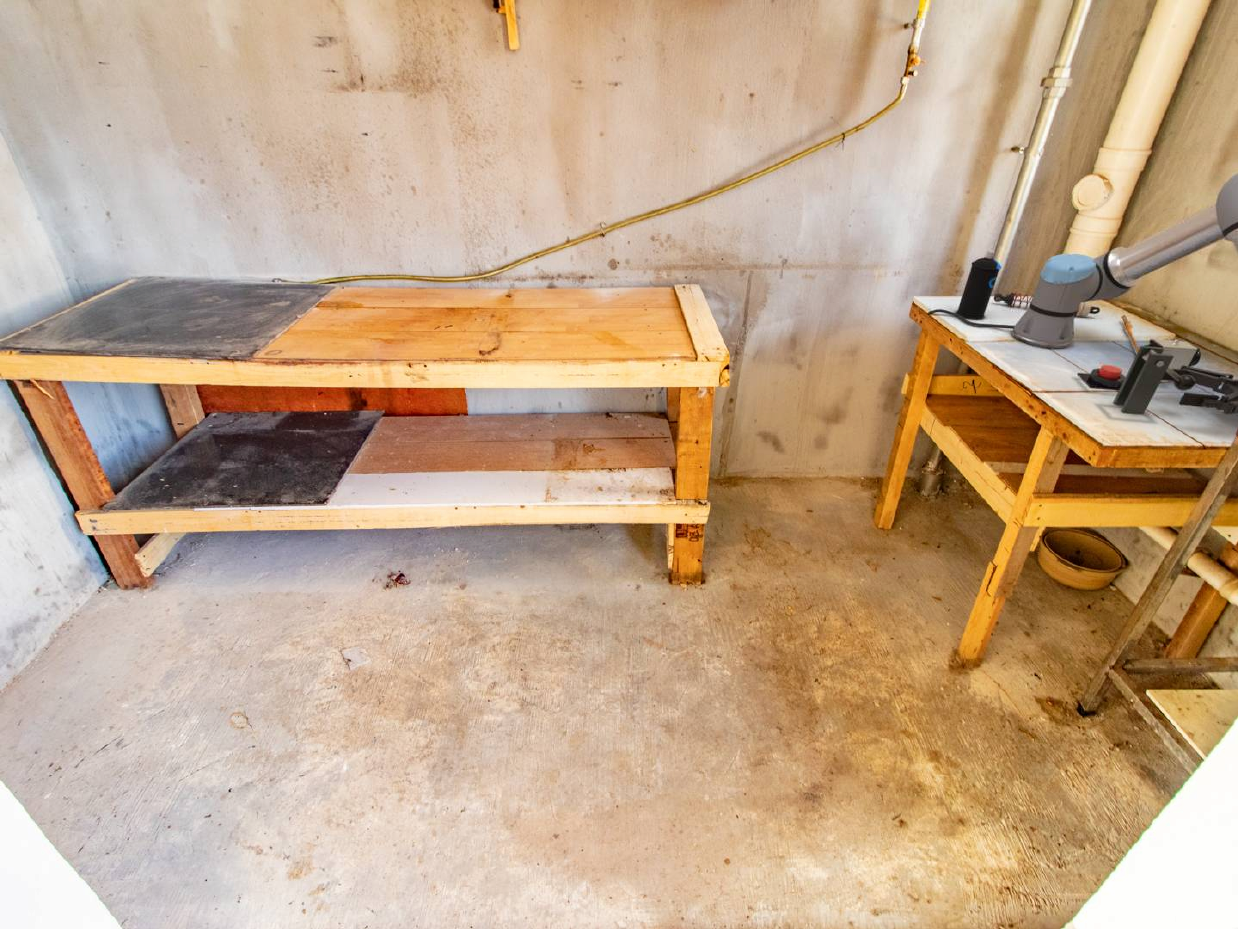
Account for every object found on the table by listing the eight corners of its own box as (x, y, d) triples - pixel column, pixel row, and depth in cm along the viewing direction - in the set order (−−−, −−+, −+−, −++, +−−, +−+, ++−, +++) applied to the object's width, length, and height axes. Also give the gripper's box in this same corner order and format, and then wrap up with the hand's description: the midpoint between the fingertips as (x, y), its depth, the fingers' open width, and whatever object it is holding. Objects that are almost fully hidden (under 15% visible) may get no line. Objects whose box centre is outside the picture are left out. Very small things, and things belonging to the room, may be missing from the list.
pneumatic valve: (1184, 389, 164) (1208, 345, 158) (1134, 386, 165) (1156, 341, 159) (1171, 380, 169) (1195, 336, 162) (1123, 376, 170) (1144, 333, 163)
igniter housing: (1116, 382, 167) (1123, 369, 165) (1131, 396, 160) (1138, 383, 158) (1074, 378, 168) (1080, 366, 166) (1088, 392, 162) (1094, 379, 160)
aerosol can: (956, 317, 204) (977, 252, 193) (955, 309, 210) (975, 246, 199) (985, 321, 202) (1007, 256, 191) (983, 312, 208) (1004, 249, 197)
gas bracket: (1138, 408, 155) (1171, 346, 146) (1153, 422, 149) (1188, 359, 141) (1098, 404, 156) (1127, 343, 148) (1111, 418, 151) (1142, 355, 142)
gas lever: (1177, 389, 150) (1193, 377, 148) (1186, 396, 147) (1202, 384, 145) (1137, 357, 147) (1152, 345, 145) (1145, 364, 144) (1160, 352, 142)
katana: (1136, 366, 178) (1140, 357, 176) (1119, 320, 203) (1123, 312, 202) (1142, 367, 177) (1146, 358, 176) (1124, 321, 203) (1128, 312, 201)
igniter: (1113, 373, 164) (1117, 365, 163) (1121, 380, 161) (1125, 373, 159) (1094, 371, 165) (1098, 364, 164) (1102, 379, 161) (1106, 371, 160)
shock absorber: (995, 296, 211) (1102, 310, 201) (996, 286, 214) (1103, 300, 203) (990, 307, 215) (1096, 321, 205) (992, 298, 218) (1096, 311, 207)
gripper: (1300, 436, 137) (1188, 426, 140) (1229, 385, 157) (1133, 377, 160) (1322, 405, 133) (1206, 395, 136) (1246, 356, 153) (1147, 348, 156)
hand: (1166, 385), depth 148 cm, fingers open, 12 cm apart
